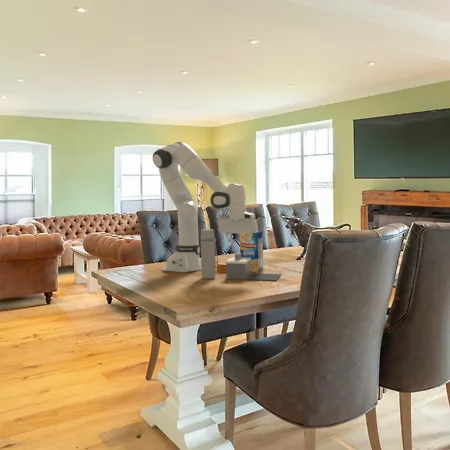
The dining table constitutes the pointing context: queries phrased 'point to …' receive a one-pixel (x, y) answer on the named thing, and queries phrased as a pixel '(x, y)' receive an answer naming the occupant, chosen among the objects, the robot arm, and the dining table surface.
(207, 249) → the water bottle
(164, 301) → the dining table surface
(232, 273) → the storage box
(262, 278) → the mat
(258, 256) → the beverage box
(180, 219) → the robot arm
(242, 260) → the lid
